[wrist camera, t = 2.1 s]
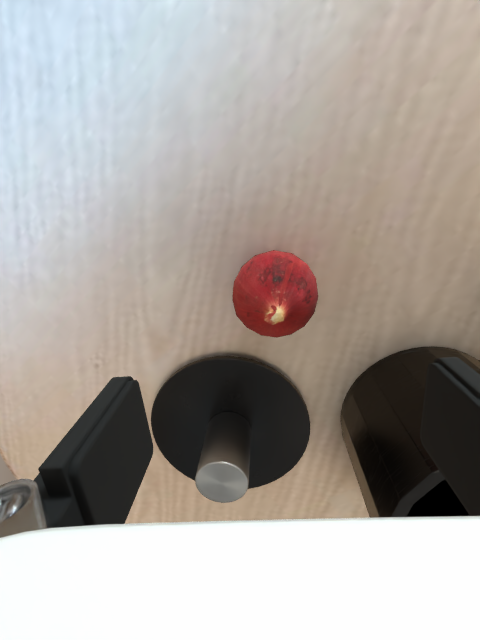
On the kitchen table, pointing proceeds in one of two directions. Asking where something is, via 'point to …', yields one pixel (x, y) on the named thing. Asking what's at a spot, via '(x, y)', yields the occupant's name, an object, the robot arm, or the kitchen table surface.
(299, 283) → the onion
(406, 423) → the canister
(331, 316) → the kitchen table surface
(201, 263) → the kitchen table surface
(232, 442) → the lid
